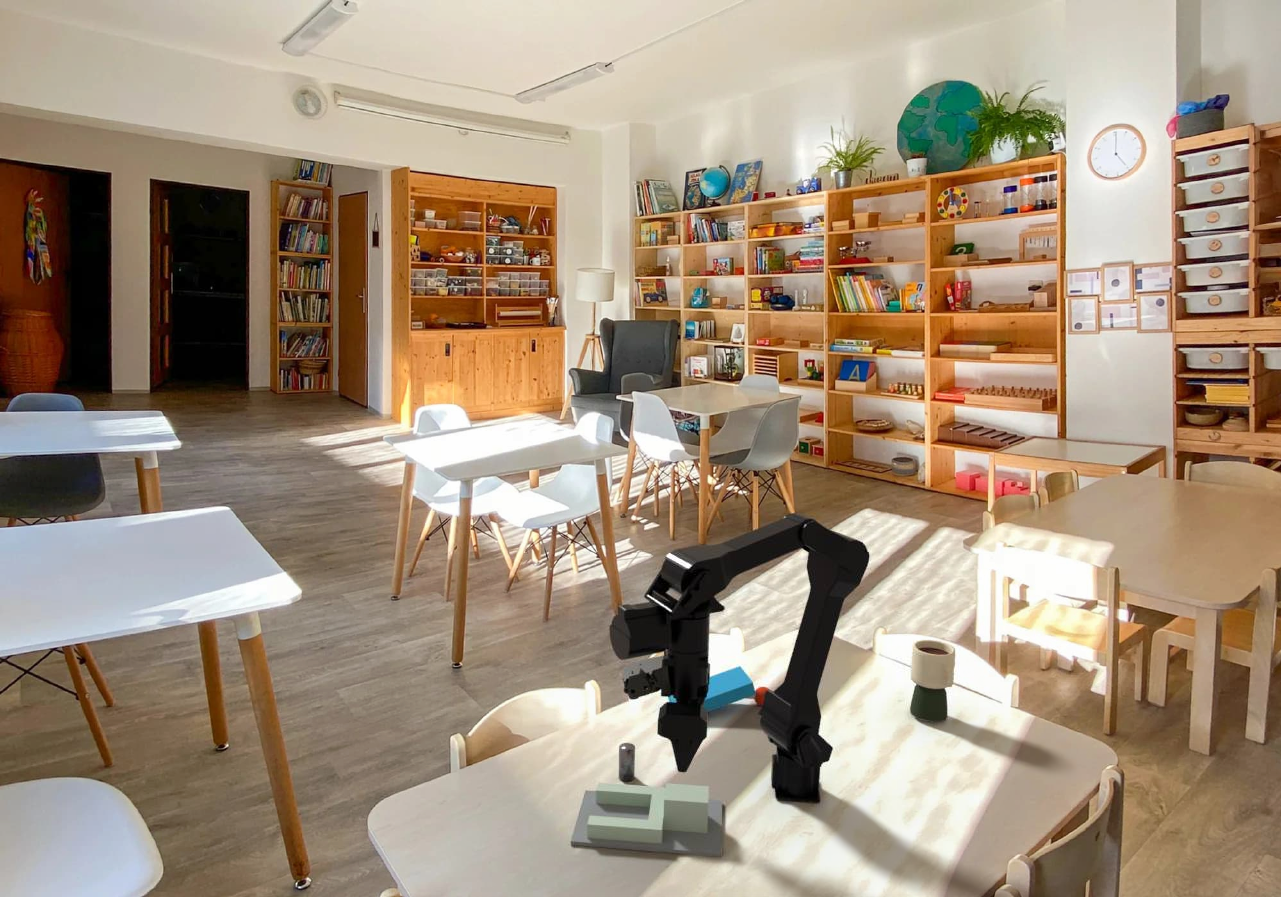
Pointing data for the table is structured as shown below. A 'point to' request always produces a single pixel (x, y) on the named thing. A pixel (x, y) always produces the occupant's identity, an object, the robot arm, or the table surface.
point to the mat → (670, 839)
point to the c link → (651, 811)
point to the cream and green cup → (931, 678)
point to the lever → (730, 689)
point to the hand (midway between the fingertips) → (683, 753)
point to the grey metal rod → (626, 762)
